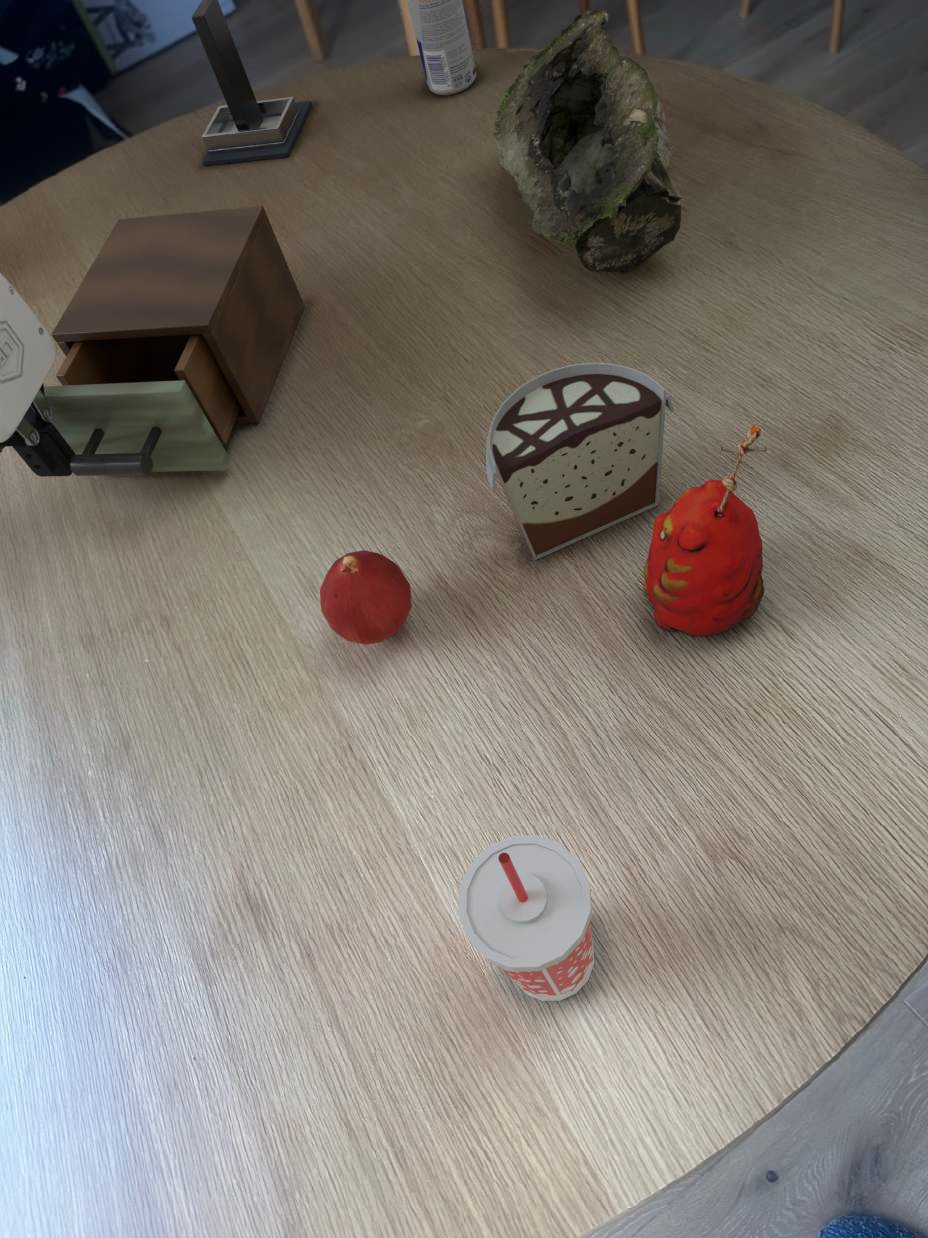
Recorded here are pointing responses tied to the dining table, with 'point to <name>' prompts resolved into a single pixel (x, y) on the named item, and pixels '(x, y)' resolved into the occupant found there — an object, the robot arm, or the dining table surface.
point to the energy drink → (443, 44)
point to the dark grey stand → (238, 93)
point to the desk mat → (263, 152)
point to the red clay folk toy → (706, 557)
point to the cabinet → (195, 293)
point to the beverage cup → (530, 915)
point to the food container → (578, 451)
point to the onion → (365, 597)
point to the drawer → (143, 406)
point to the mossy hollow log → (591, 149)
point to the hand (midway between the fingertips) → (58, 468)
